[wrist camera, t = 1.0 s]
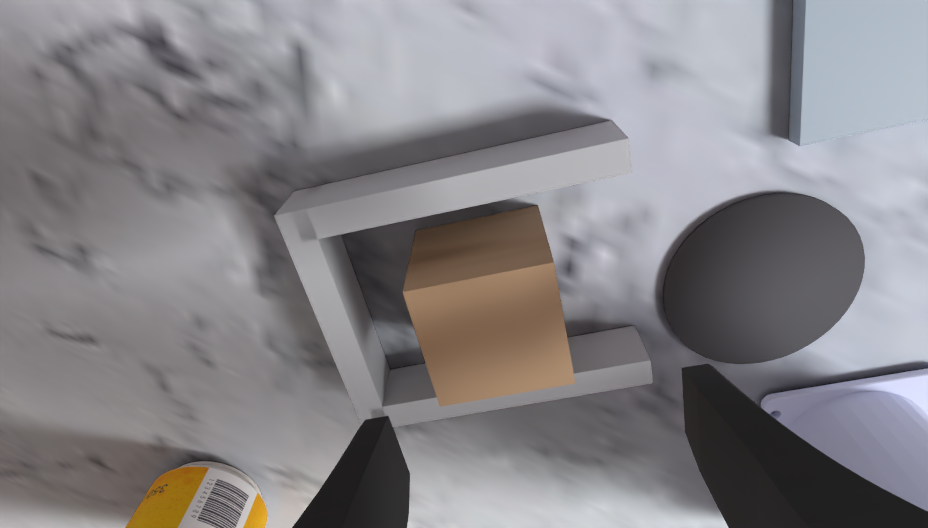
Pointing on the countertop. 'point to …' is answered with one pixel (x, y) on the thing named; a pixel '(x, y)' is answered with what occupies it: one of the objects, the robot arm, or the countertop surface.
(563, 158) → the grey flat u-shaped piece
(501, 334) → the walnut cube
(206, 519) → the beer can
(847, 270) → the hole mat
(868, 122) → the board
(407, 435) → the countertop surface
